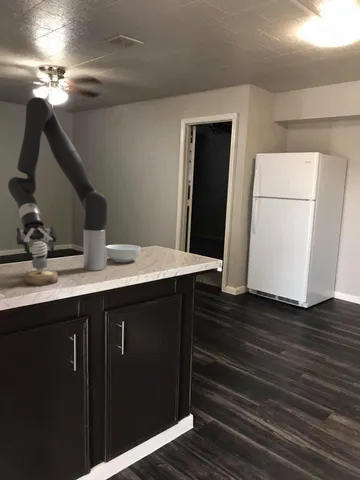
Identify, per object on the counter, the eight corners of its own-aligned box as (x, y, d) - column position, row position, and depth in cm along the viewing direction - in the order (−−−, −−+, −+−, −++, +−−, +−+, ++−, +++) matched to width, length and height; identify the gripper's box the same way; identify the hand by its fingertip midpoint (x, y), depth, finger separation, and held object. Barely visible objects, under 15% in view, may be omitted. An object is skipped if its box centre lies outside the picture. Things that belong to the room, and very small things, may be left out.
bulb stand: (42, 276, 156) (42, 268, 155) (64, 281, 150) (64, 272, 149) (16, 282, 145) (16, 274, 145) (38, 287, 139) (38, 278, 139)
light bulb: (50, 271, 150) (49, 240, 148) (45, 275, 144) (44, 242, 143) (35, 271, 150) (34, 240, 148) (30, 274, 144) (28, 242, 143)
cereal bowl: (144, 263, 186) (144, 249, 185) (109, 265, 180) (109, 250, 179) (135, 257, 202) (135, 243, 201) (102, 258, 195) (102, 244, 194)
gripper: (13, 211, 147) (22, 246, 139) (51, 210, 155) (61, 243, 147) (10, 224, 152) (18, 258, 144) (47, 222, 160) (57, 255, 152)
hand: (40, 251), depth 146 cm, fingers open, 8 cm apart
